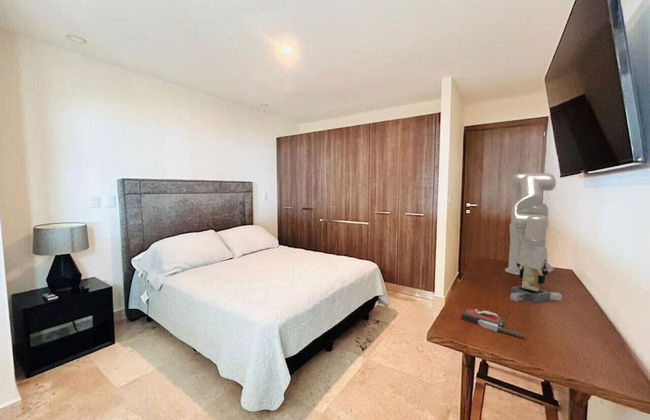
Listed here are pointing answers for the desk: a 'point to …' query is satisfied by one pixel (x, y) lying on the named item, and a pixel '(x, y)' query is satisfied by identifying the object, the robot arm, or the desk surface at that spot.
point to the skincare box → (530, 278)
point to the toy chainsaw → (487, 320)
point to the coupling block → (533, 295)
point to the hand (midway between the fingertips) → (531, 280)
